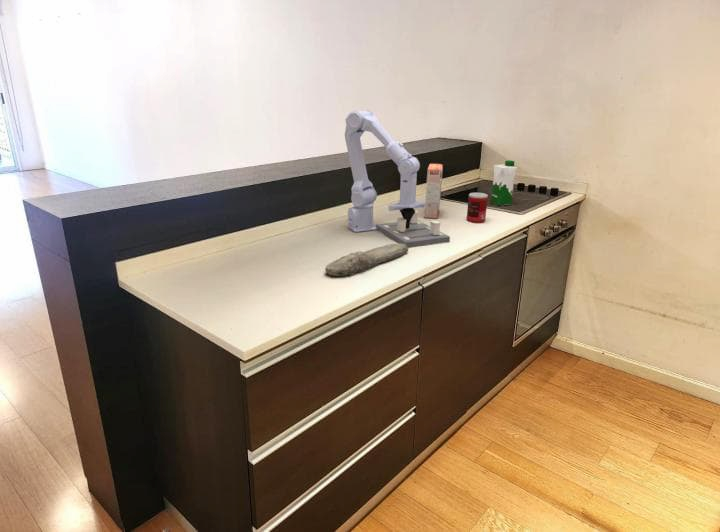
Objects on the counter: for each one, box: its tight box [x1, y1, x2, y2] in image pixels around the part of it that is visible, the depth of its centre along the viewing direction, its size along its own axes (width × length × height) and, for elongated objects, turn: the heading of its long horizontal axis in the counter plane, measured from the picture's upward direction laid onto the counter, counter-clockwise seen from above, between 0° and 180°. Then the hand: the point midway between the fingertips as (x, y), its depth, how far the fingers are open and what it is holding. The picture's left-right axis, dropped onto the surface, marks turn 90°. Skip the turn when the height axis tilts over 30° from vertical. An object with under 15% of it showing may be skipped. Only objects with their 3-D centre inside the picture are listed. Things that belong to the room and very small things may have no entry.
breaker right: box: [430, 220, 441, 235], centre depth 179 cm, size 2×3×4 cm
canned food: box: [466, 192, 489, 224], centre depth 204 cm, size 8×8×11 cm
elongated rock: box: [325, 243, 409, 277], centre depth 158 cm, size 35×5×10 cm
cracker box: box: [423, 163, 443, 220], centre depth 210 cm, size 14×6×21 cm, turn 168°
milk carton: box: [490, 160, 518, 206], centre depth 229 cm, size 9×9×20 cm
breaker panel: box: [375, 219, 451, 249], centre depth 185 cm, size 18×24×2 cm
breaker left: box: [410, 210, 419, 224], centre depth 193 cm, size 2×3×4 cm
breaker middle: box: [396, 217, 406, 232], centre depth 182 cm, size 2×3×4 cm
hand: (406, 227), depth 184 cm, fingers closed
